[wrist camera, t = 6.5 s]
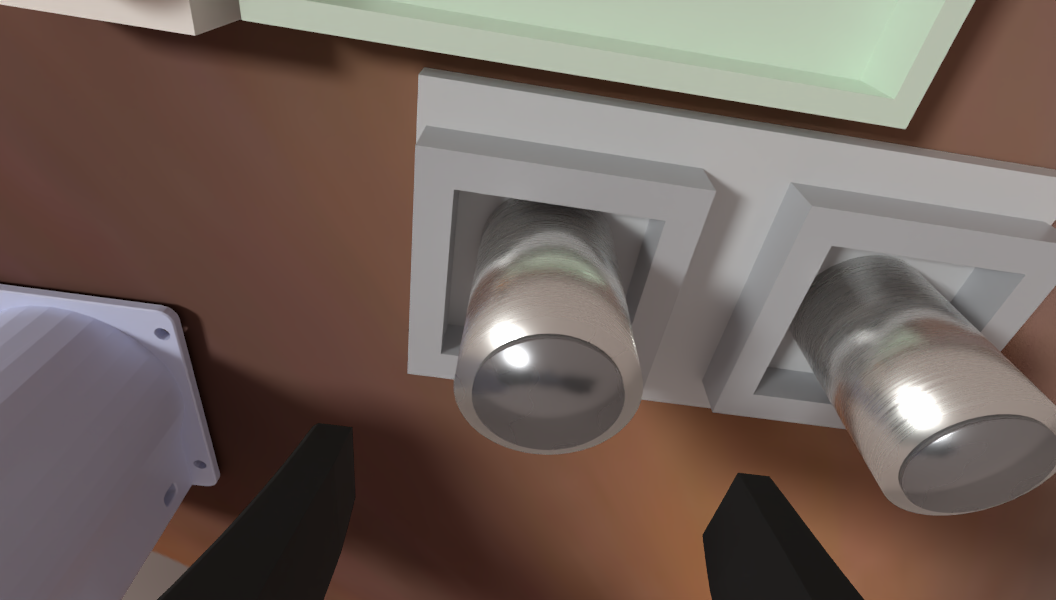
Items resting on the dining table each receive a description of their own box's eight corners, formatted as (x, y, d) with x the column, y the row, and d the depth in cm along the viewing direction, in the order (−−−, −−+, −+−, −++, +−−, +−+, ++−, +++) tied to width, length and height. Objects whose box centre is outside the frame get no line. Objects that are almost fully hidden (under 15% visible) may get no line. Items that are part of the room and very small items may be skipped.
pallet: (882, 415, 22) (914, 464, 20) (412, 355, 20) (398, 400, 18) (1061, 170, 16) (1131, 205, 14) (424, 67, 15) (406, 90, 13)
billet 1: (600, 310, 18) (622, 468, 13) (476, 297, 18) (449, 453, 13) (626, 196, 16) (665, 334, 11) (484, 180, 16) (455, 313, 10)
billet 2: (882, 364, 19) (1005, 530, 14) (769, 349, 19) (852, 512, 14) (950, 265, 17) (1127, 420, 12) (823, 246, 16) (946, 396, 11)
